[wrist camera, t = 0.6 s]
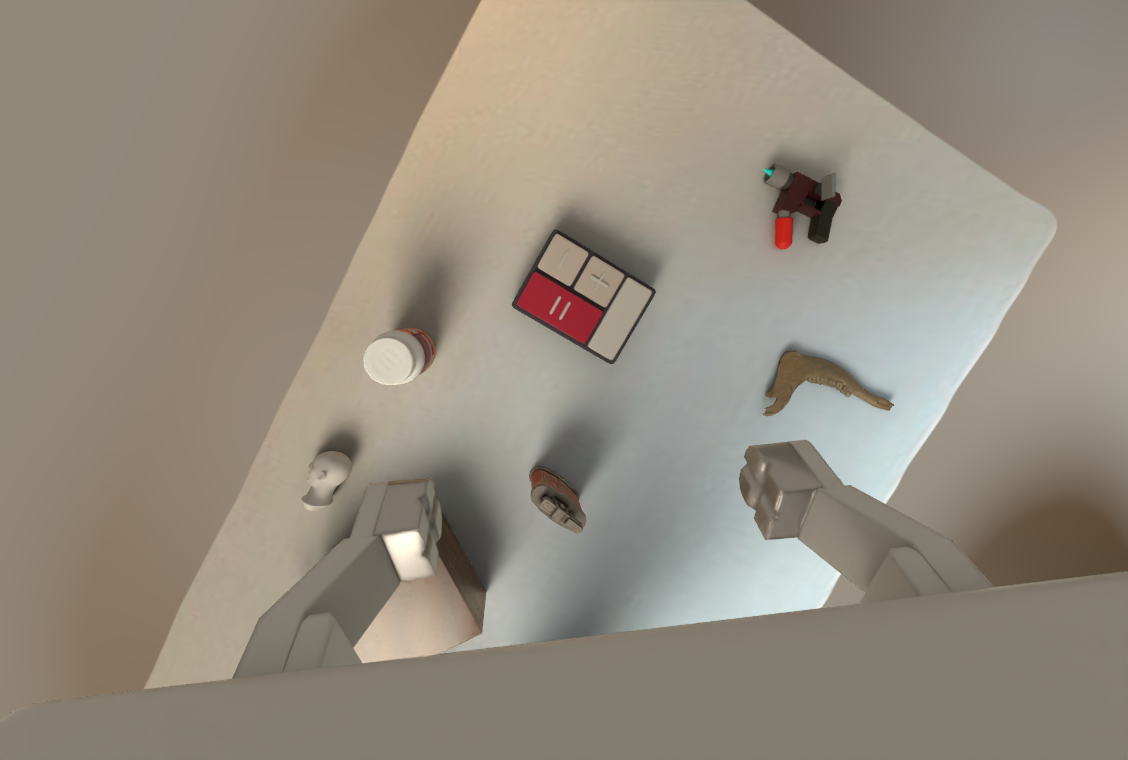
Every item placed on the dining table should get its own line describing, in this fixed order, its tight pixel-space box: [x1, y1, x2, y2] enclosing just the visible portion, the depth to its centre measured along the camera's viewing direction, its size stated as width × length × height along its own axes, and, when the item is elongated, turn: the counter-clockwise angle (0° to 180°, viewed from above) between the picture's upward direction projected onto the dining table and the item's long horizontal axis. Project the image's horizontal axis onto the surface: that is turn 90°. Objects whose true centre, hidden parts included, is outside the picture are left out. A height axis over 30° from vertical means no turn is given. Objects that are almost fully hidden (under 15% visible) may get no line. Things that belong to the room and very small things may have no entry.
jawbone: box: [763, 350, 894, 416], centre depth 66 cm, size 9×20×2 cm, turn 91°
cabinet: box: [354, 511, 486, 663], centre depth 61 cm, size 16×14×8 cm
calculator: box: [512, 230, 656, 364], centre depth 60 cm, size 11×4×15 cm
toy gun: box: [763, 163, 842, 249], centre depth 61 cm, size 10×12×5 cm
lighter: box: [529, 466, 586, 534], centre depth 60 cm, size 8×3×10 cm, turn 51°
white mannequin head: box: [302, 451, 352, 510], centre depth 60 cm, size 4×8×5 cm
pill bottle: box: [363, 328, 435, 385], centre depth 55 cm, size 6×6×11 cm
